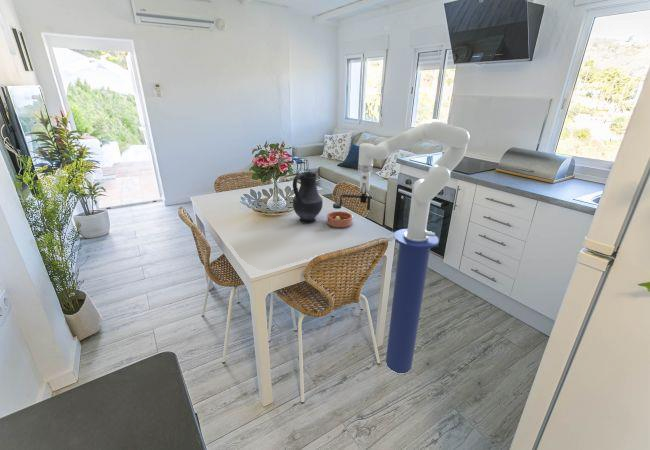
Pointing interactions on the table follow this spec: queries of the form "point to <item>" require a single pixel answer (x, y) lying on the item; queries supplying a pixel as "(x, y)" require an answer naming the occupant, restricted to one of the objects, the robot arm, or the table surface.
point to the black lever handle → (338, 205)
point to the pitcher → (307, 197)
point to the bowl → (343, 222)
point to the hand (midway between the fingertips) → (363, 201)
